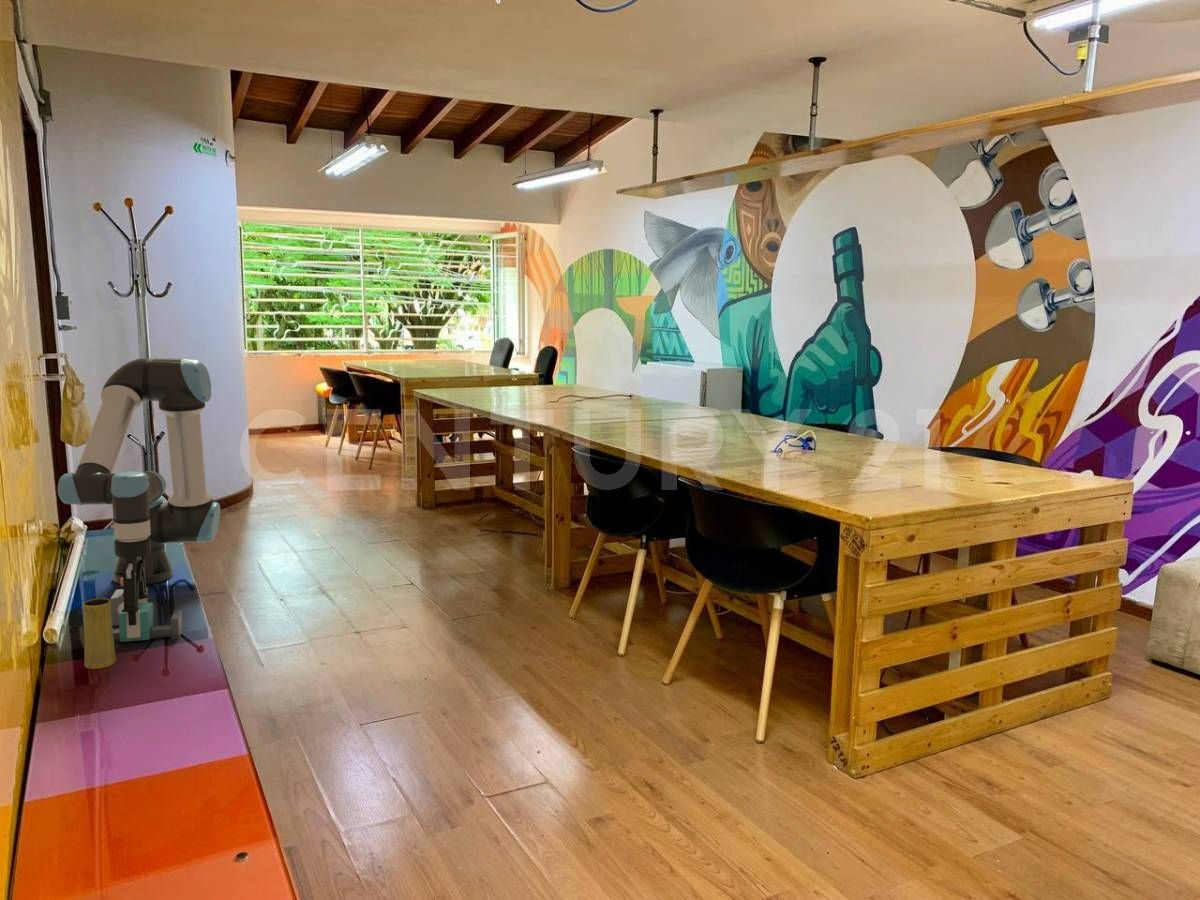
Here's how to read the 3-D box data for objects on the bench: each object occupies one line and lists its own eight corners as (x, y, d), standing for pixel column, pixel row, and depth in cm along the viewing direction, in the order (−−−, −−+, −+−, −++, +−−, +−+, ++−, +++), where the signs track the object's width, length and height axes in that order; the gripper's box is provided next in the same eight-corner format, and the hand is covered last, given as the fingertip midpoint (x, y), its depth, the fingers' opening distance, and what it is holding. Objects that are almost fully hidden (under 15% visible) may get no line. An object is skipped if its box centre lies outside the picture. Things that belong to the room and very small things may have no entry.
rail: (87, 645, 196) (86, 625, 196) (93, 636, 202) (92, 616, 201) (178, 638, 203) (178, 618, 202) (182, 629, 208) (181, 610, 207)
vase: (78, 665, 186) (74, 603, 183) (105, 656, 191) (102, 595, 189) (95, 671, 183) (91, 608, 181) (122, 662, 188) (119, 600, 186)
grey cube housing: (117, 616, 215) (116, 589, 214) (148, 614, 218) (147, 587, 217) (111, 626, 209) (110, 598, 208) (143, 623, 211) (142, 596, 210)
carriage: (120, 642, 198) (118, 613, 197) (126, 631, 205) (124, 604, 204) (148, 640, 200) (147, 612, 199) (153, 629, 207) (152, 602, 205)
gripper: (122, 528, 207) (127, 618, 210) (105, 550, 188) (110, 648, 192) (157, 527, 209) (160, 615, 213) (143, 548, 191) (147, 645, 194)
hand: (136, 631), depth 202 cm, fingers closed on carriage, 7 cm apart
